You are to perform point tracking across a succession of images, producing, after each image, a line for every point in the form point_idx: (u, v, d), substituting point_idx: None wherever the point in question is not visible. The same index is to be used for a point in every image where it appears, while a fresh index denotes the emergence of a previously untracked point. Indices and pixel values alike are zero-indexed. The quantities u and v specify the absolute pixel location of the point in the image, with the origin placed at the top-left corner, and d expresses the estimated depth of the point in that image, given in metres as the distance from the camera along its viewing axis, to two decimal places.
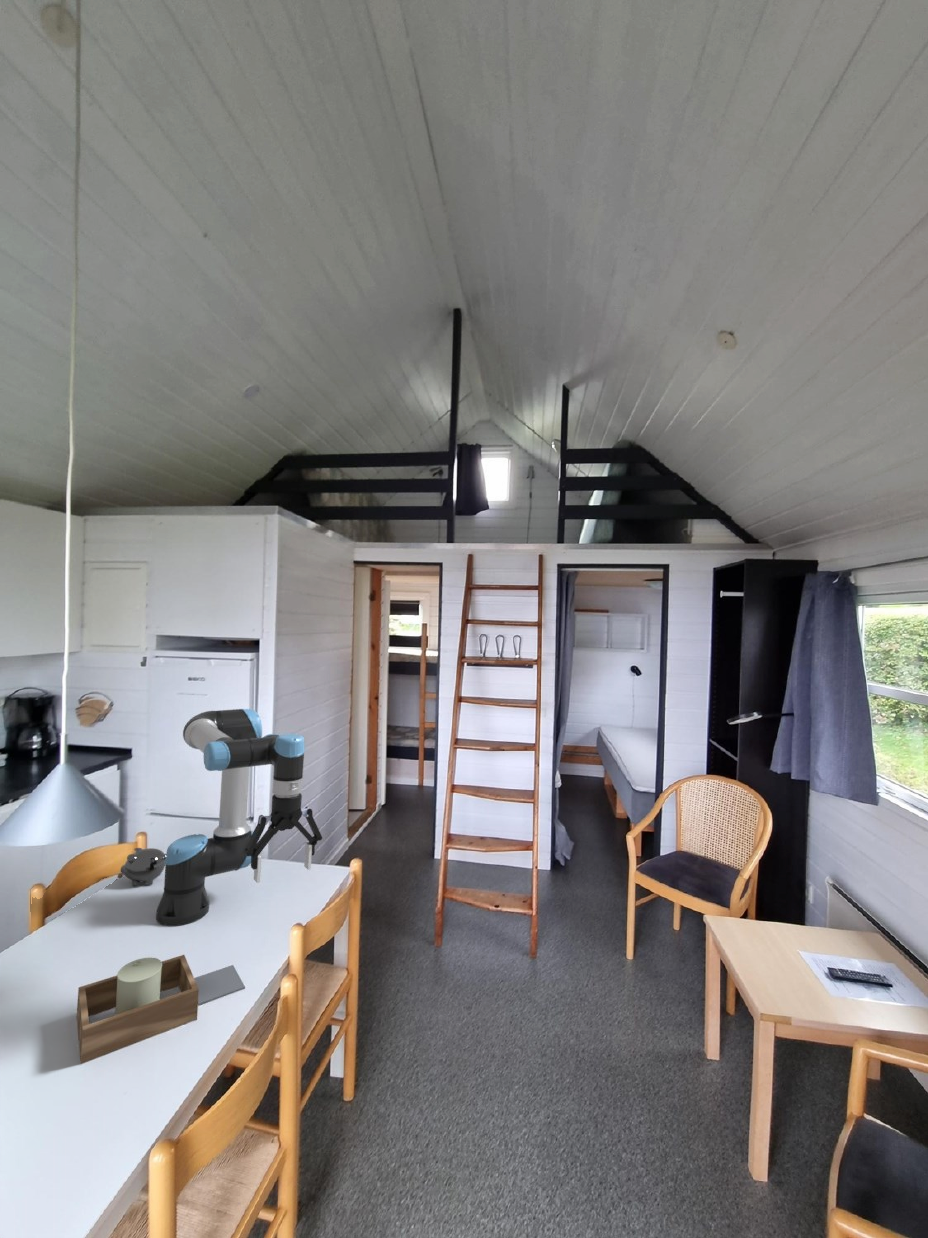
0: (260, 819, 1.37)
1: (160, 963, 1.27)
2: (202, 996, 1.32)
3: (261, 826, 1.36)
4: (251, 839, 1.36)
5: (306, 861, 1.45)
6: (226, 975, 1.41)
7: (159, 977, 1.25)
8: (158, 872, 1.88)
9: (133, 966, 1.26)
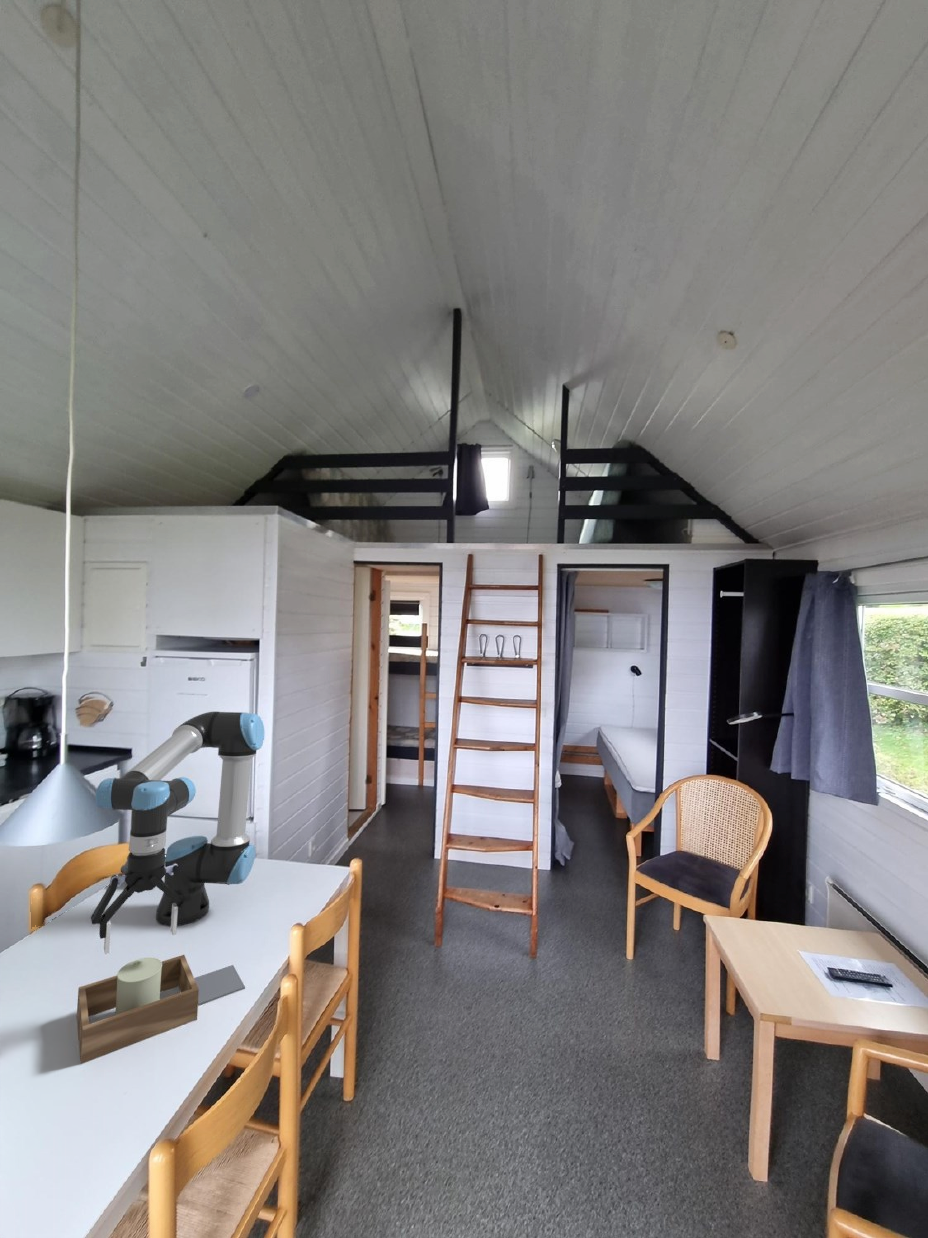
0: (111, 880, 1.21)
1: (160, 963, 1.27)
2: (202, 996, 1.32)
3: (111, 889, 1.20)
4: (99, 904, 1.20)
5: (172, 925, 1.29)
6: (226, 975, 1.41)
7: (159, 977, 1.25)
8: None
9: (133, 966, 1.26)
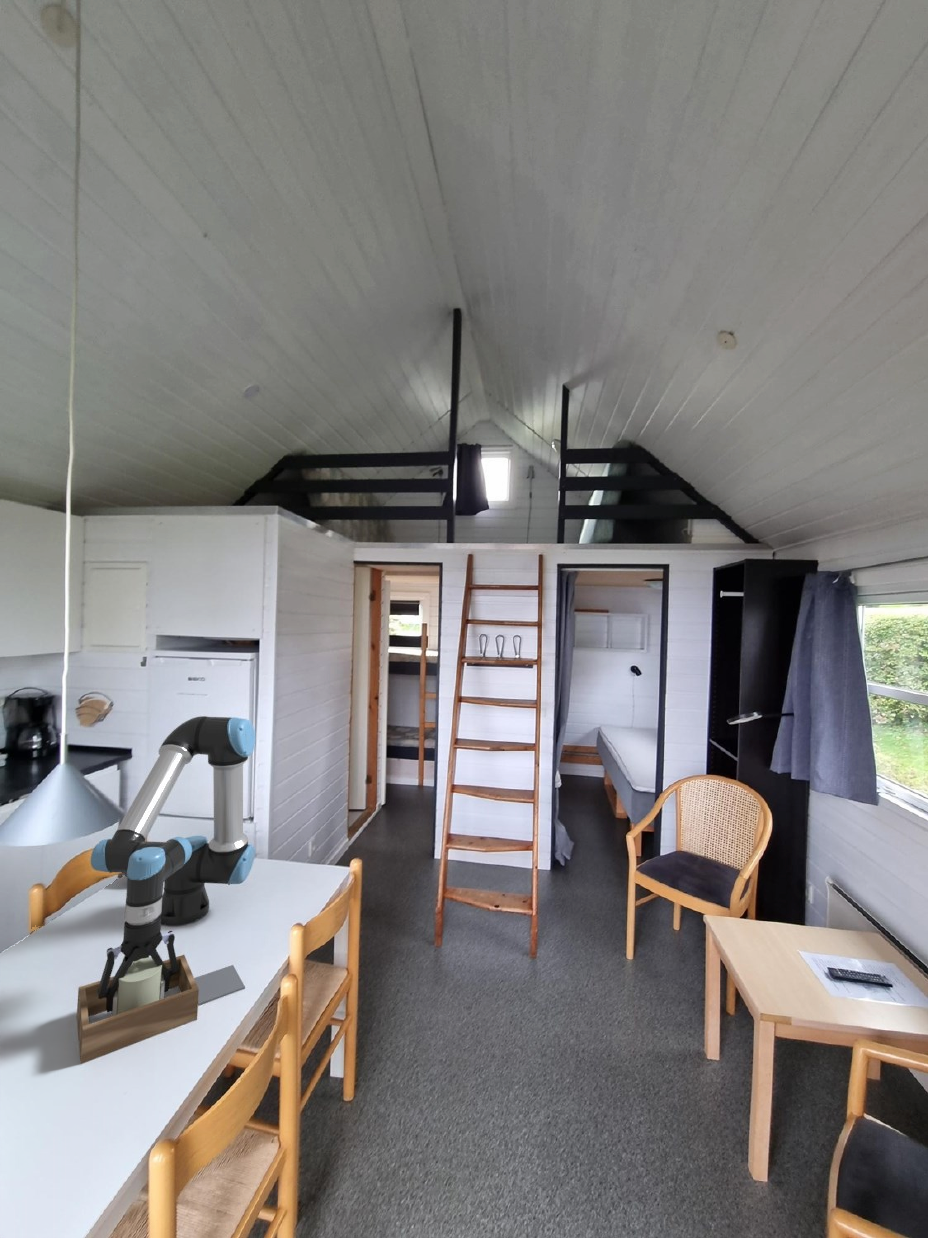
0: (107, 955, 1.21)
1: None
2: (202, 996, 1.32)
3: (109, 963, 1.20)
4: (102, 978, 1.20)
5: None
6: (226, 975, 1.41)
7: (159, 977, 1.25)
8: None
9: (133, 966, 1.26)
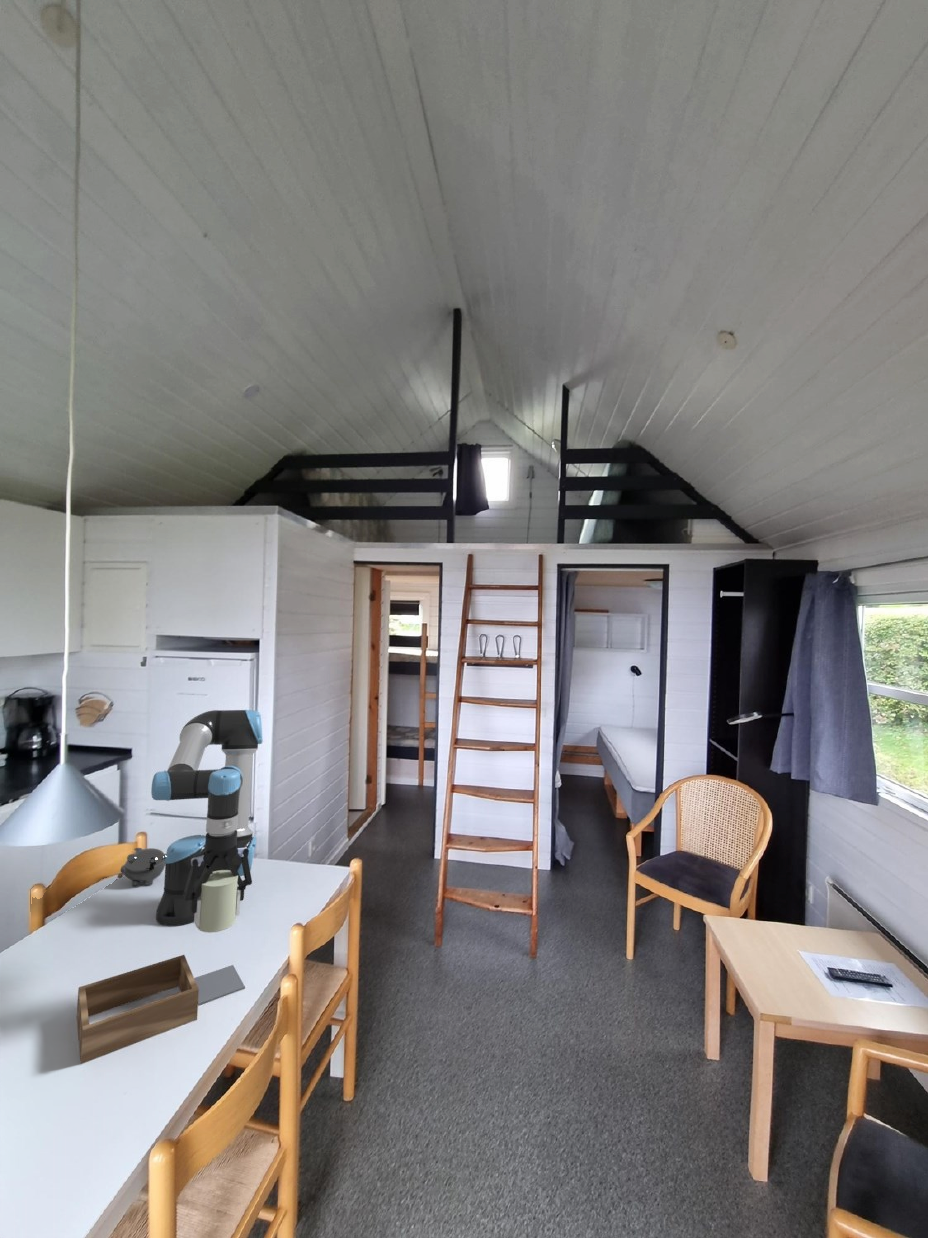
0: (191, 862, 1.33)
1: None
2: (202, 996, 1.32)
3: (194, 869, 1.33)
4: (187, 883, 1.33)
5: None
6: (226, 975, 1.41)
7: (236, 885, 1.38)
8: (158, 872, 1.88)
9: (212, 876, 1.39)
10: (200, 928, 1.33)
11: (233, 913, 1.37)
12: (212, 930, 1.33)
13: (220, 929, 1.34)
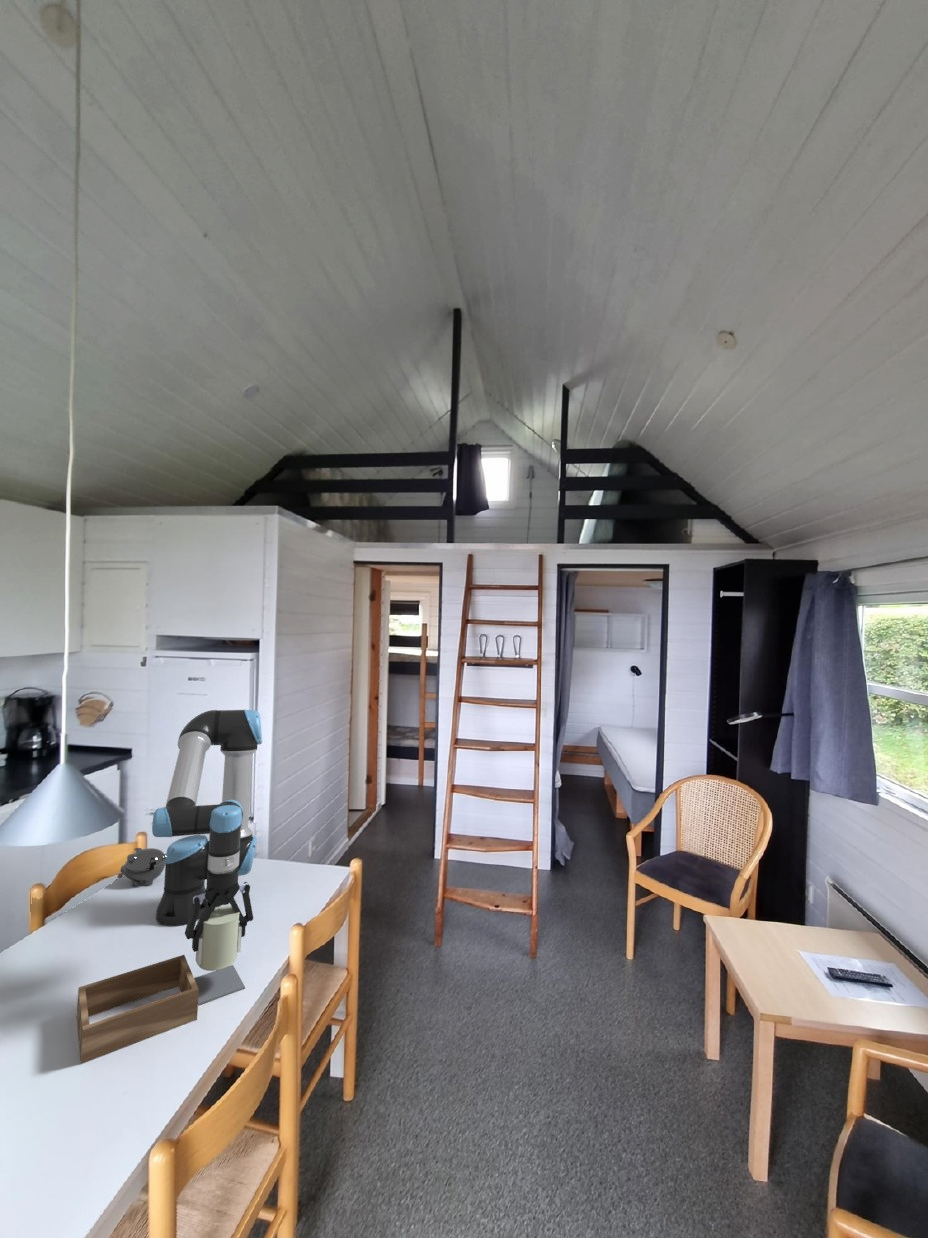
0: (193, 900, 1.34)
1: None
2: (202, 996, 1.32)
3: (195, 907, 1.33)
4: (189, 921, 1.33)
5: None
6: (226, 975, 1.41)
7: (237, 922, 1.38)
8: (158, 872, 1.88)
9: (213, 913, 1.39)
10: (202, 966, 1.33)
11: (235, 950, 1.37)
12: (214, 968, 1.33)
13: (222, 967, 1.34)
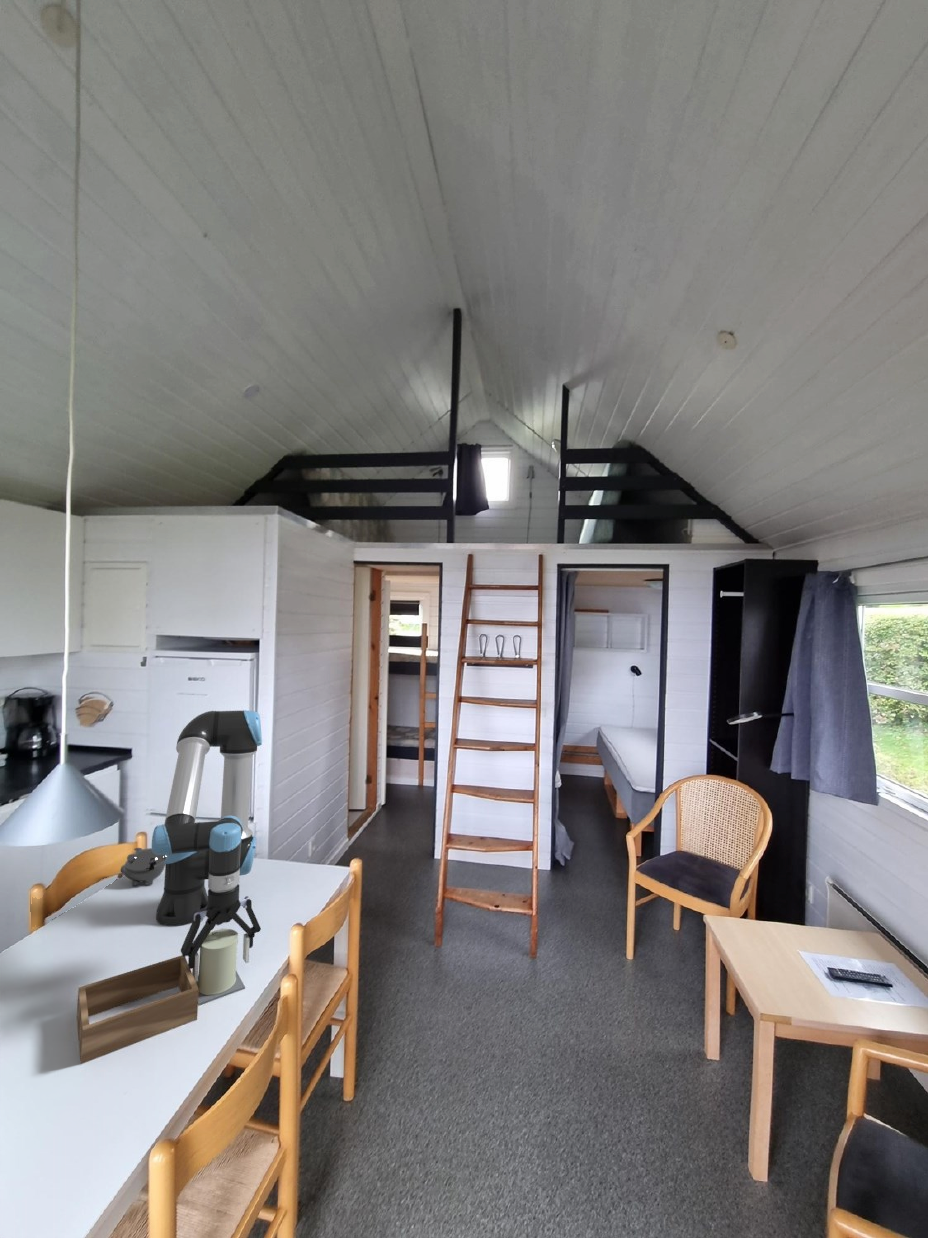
0: (194, 917, 1.34)
1: (236, 933, 1.40)
2: (202, 996, 1.32)
3: (196, 924, 1.33)
4: (187, 938, 1.33)
5: (244, 954, 1.42)
6: None
7: (236, 946, 1.38)
8: (158, 872, 1.88)
9: (212, 936, 1.39)
10: (200, 991, 1.33)
11: (233, 974, 1.37)
12: (212, 993, 1.33)
13: (220, 991, 1.34)
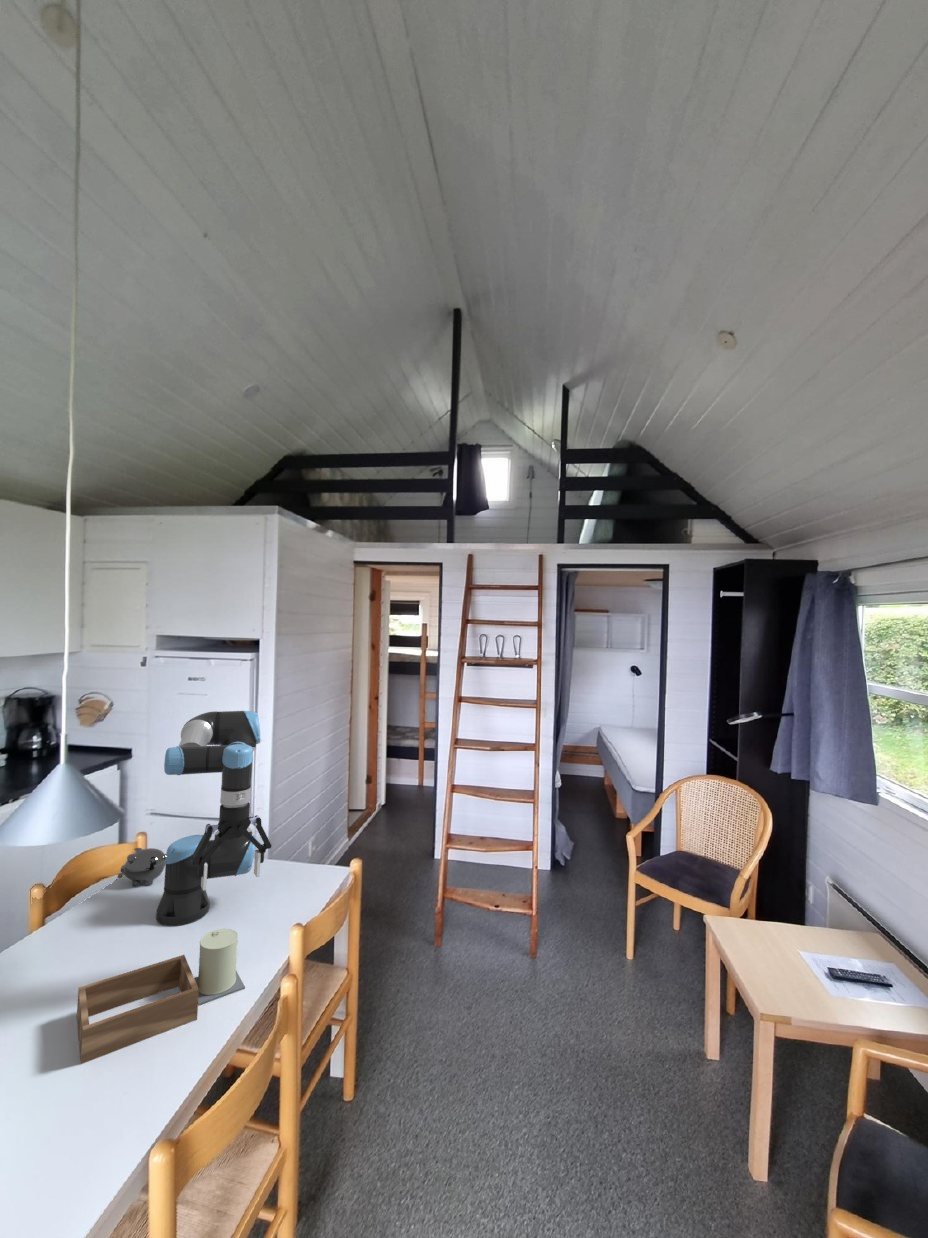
0: (207, 828, 1.39)
1: (236, 933, 1.40)
2: (202, 996, 1.32)
3: (207, 835, 1.39)
4: (197, 848, 1.38)
5: (255, 868, 1.48)
6: None
7: (236, 946, 1.38)
8: (158, 872, 1.88)
9: (212, 936, 1.39)
10: (200, 991, 1.34)
11: (233, 974, 1.37)
12: (212, 993, 1.33)
13: (220, 991, 1.34)
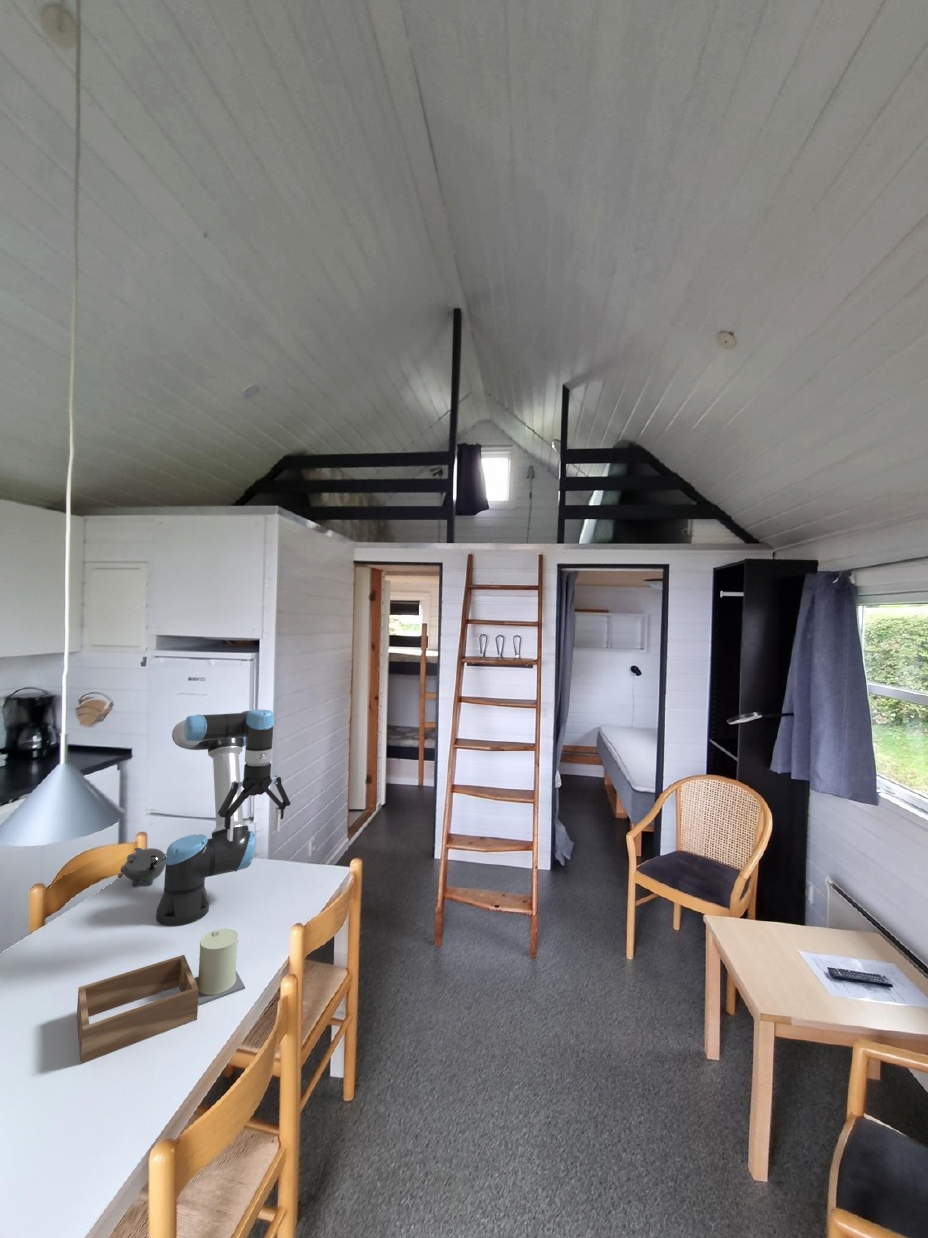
0: (233, 784, 1.53)
1: (236, 933, 1.40)
2: (202, 996, 1.32)
3: (233, 791, 1.52)
4: (224, 802, 1.52)
5: (276, 824, 1.61)
6: None
7: (236, 946, 1.38)
8: (158, 872, 1.88)
9: (212, 936, 1.39)
10: (200, 991, 1.34)
11: (233, 974, 1.37)
12: (212, 993, 1.33)
13: (220, 991, 1.34)
